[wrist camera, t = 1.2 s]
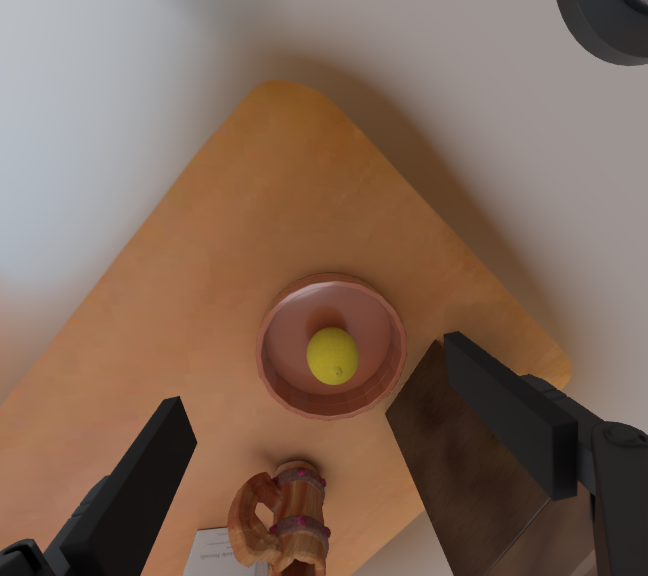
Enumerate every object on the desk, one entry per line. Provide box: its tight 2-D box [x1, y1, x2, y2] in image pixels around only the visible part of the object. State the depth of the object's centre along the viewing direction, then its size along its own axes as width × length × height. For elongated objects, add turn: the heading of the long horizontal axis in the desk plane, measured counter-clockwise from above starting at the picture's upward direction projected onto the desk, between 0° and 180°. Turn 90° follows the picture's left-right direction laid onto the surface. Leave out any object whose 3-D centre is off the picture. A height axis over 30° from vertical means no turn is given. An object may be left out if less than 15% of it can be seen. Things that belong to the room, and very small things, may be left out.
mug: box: [227, 461, 331, 576], centre depth 35 cm, size 12×7×13 cm, turn 51°
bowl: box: [255, 273, 407, 421], centre depth 35 cm, size 16×16×4 cm
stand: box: [385, 340, 551, 576], centre depth 31 cm, size 12×12×20 cm
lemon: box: [307, 327, 359, 385], centre depth 33 cm, size 6×6×8 cm
